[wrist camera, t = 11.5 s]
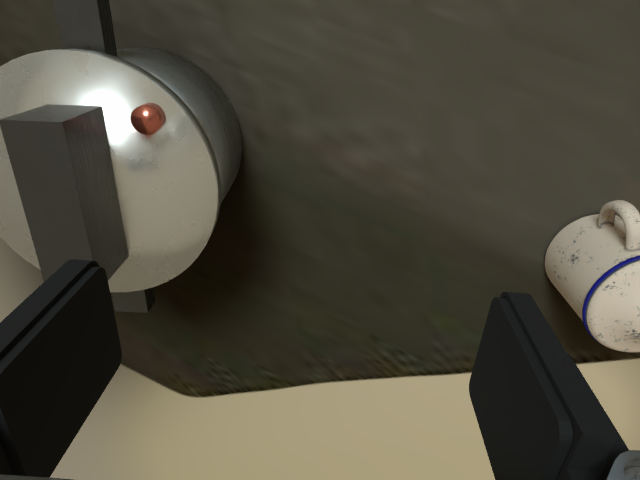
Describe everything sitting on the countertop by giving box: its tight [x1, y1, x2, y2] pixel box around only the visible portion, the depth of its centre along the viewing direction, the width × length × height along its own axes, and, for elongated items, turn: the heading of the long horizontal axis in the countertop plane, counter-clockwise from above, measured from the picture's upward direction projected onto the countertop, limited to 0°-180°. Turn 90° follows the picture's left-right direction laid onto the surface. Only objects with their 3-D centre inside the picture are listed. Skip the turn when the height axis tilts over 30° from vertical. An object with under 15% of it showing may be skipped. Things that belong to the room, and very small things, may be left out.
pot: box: [53, 0, 242, 313], centre depth 35 cm, size 23×15×11 cm, turn 178°
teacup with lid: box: [545, 200, 640, 352], centre depth 38 cm, size 12×9×12 cm
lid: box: [0, 48, 221, 292], centre depth 28 cm, size 16×16×6 cm
